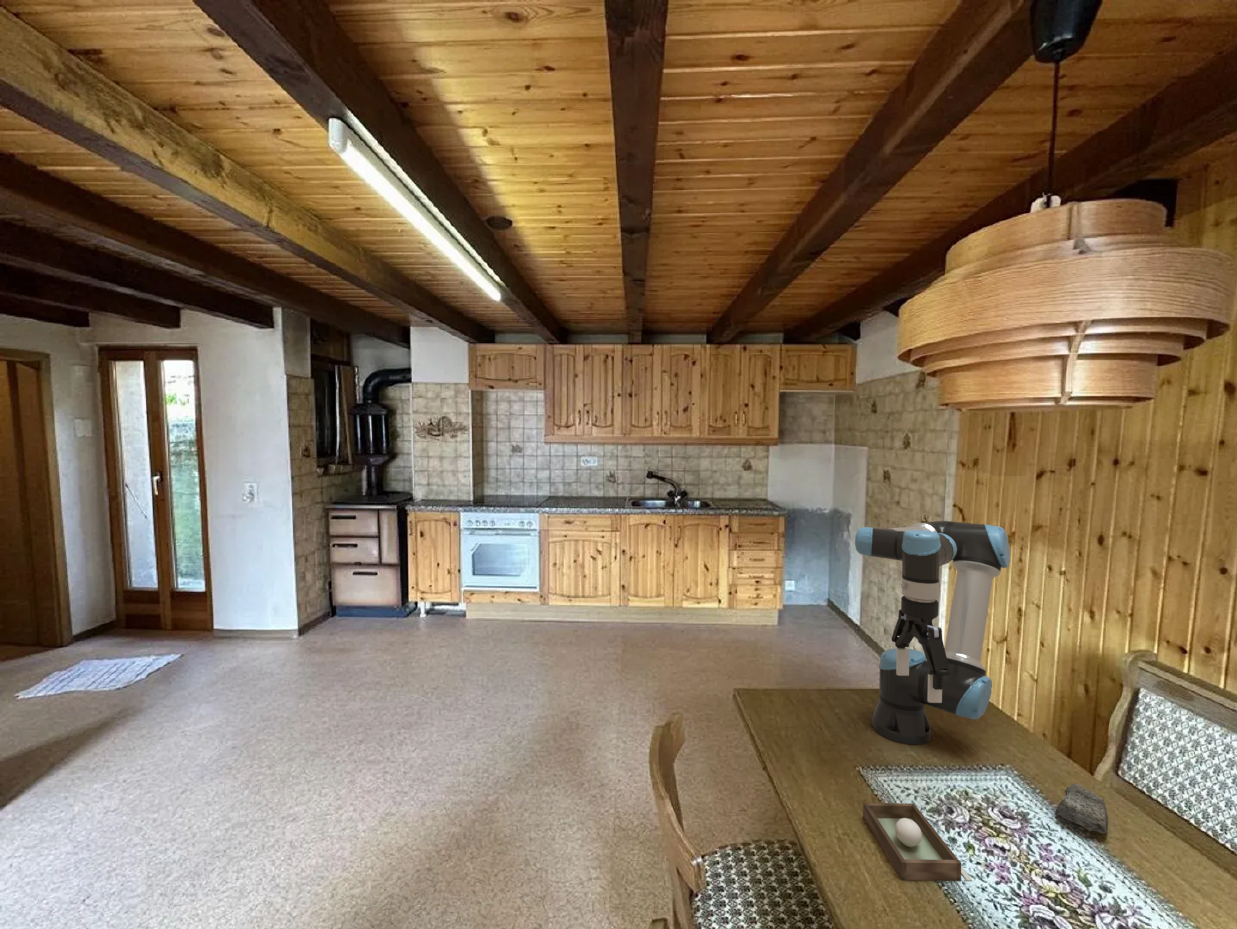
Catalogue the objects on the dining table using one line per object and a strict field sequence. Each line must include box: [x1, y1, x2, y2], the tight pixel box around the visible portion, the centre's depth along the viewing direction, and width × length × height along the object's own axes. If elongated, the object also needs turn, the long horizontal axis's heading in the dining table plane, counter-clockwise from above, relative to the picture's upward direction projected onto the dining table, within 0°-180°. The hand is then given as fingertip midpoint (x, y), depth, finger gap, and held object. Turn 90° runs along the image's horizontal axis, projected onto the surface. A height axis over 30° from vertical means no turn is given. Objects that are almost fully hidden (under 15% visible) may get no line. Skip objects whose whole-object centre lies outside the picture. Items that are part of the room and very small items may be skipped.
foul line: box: [961, 866, 973, 882], centre depth 110 cm, size 1×17×1 cm, turn 179°
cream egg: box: [895, 818, 922, 847], centre depth 110 cm, size 5×5×5 cm
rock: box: [1054, 782, 1109, 835], centre depth 118 cm, size 13×9×6 cm, turn 135°
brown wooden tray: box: [862, 802, 962, 882], centre depth 110 cm, size 11×17×4 cm, turn 179°
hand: (917, 687), depth 124 cm, fingers open, 13 cm apart
